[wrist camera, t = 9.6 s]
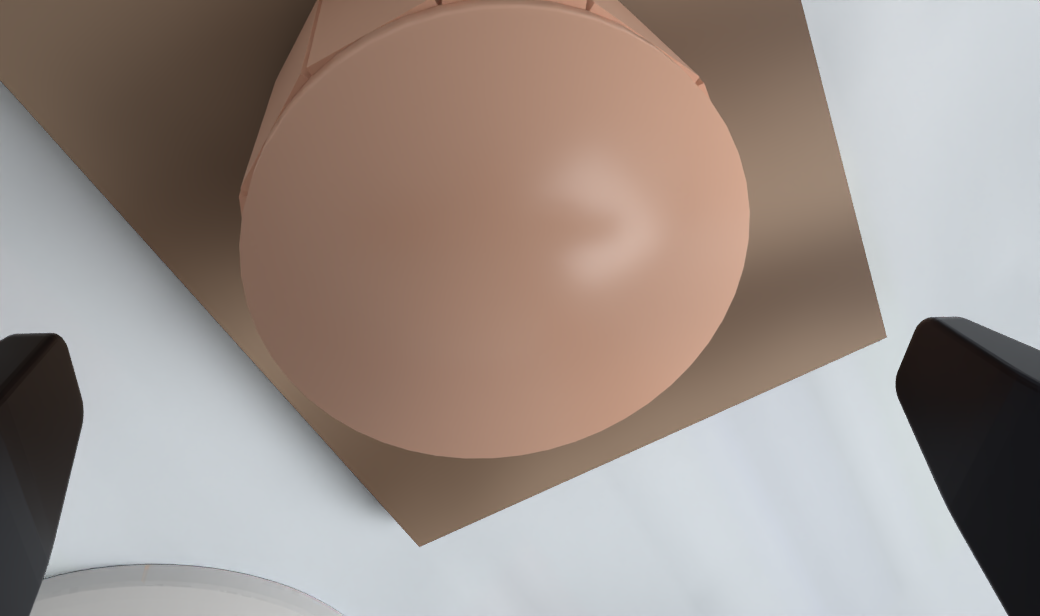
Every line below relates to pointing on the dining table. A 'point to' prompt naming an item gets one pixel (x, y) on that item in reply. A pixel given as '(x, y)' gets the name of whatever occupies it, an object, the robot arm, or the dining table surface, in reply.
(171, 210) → the post board
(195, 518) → the dining table surface
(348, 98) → the cap
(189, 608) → the candlestick
